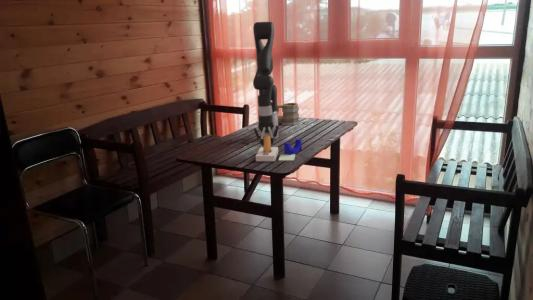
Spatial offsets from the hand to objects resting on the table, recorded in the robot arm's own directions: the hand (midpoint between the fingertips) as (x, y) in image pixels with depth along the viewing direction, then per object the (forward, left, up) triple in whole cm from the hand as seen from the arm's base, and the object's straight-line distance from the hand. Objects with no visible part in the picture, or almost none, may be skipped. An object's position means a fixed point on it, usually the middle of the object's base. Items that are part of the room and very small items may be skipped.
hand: (267, 144), depth 237 cm
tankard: (-77, +2, -7) cm, 77 cm away
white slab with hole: (0, 0, -7) cm, 7 cm away
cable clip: (-7, +14, -7) cm, 17 cm away
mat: (+3, +11, -7) cm, 13 cm away
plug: (0, 0, -5) cm, 5 cm away
